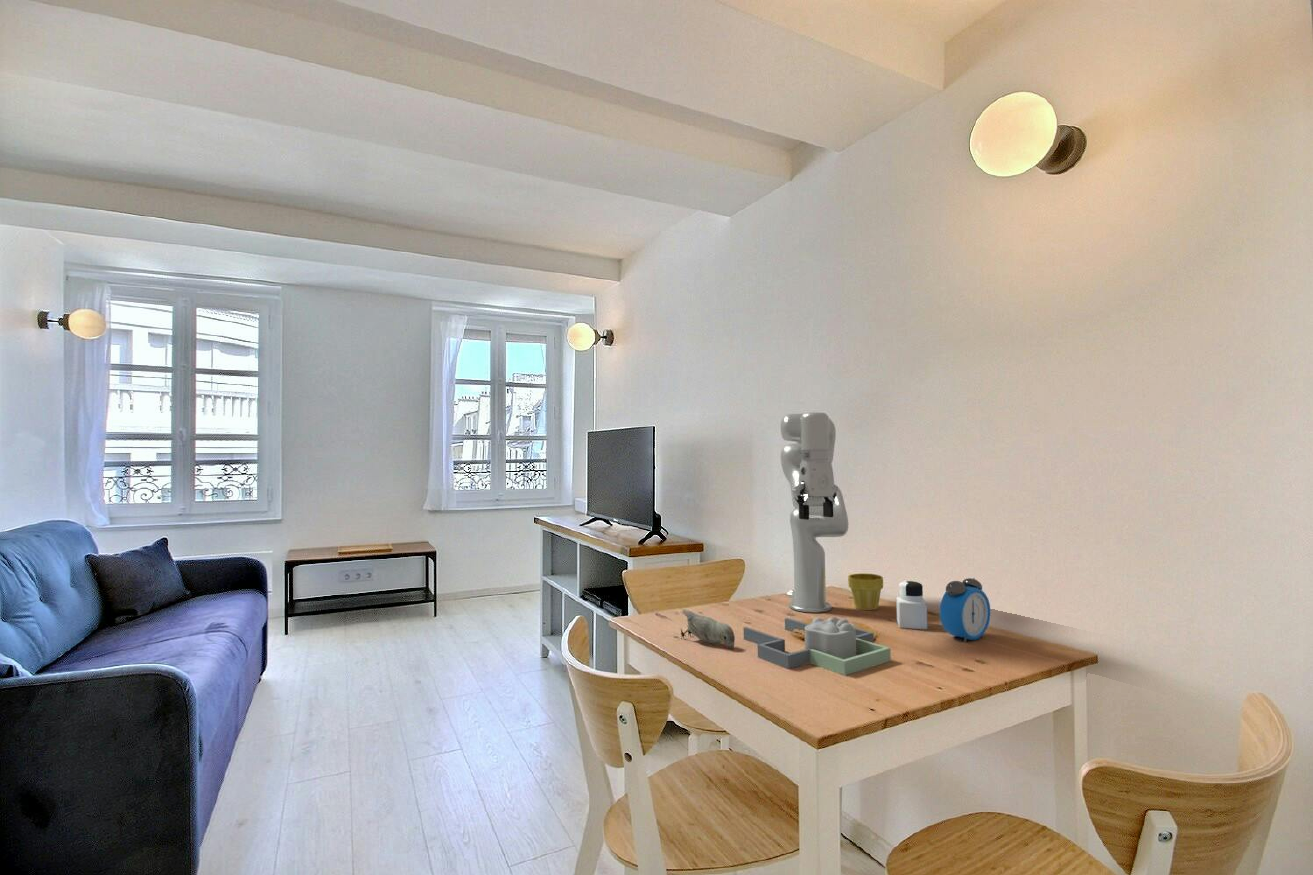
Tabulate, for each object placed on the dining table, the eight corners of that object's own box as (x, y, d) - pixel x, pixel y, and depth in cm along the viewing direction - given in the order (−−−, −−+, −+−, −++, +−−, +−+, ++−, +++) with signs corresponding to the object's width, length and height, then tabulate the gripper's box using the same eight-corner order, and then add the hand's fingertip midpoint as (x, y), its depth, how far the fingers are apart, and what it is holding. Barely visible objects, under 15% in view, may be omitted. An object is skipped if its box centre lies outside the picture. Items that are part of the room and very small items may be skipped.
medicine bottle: (923, 622, 176) (922, 580, 176) (927, 629, 169) (926, 585, 170) (896, 621, 178) (895, 579, 178) (899, 628, 171) (898, 584, 172)
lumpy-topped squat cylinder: (799, 658, 148) (798, 621, 148) (827, 645, 157) (826, 610, 157) (839, 668, 141) (838, 629, 141) (866, 654, 150) (865, 618, 150)
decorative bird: (727, 652, 153) (726, 621, 153) (677, 640, 164) (676, 611, 164) (739, 647, 157) (739, 617, 157) (690, 635, 168) (689, 607, 168)
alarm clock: (960, 644, 156) (959, 584, 156) (938, 638, 161) (937, 580, 162) (992, 636, 162) (990, 578, 163) (969, 630, 168) (968, 574, 168)
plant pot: (842, 608, 194) (841, 576, 194) (858, 602, 201) (857, 571, 201) (874, 613, 186) (873, 581, 187) (889, 607, 194) (888, 575, 194)
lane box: (723, 643, 160) (722, 631, 160) (805, 624, 176) (805, 613, 176) (822, 682, 132) (822, 668, 132) (909, 655, 149) (908, 642, 149)
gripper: (803, 457, 167) (804, 521, 166) (846, 456, 176) (847, 516, 176) (783, 457, 173) (784, 519, 172) (825, 456, 182) (827, 514, 182)
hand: (816, 517), depth 174 cm, fingers open, 9 cm apart
